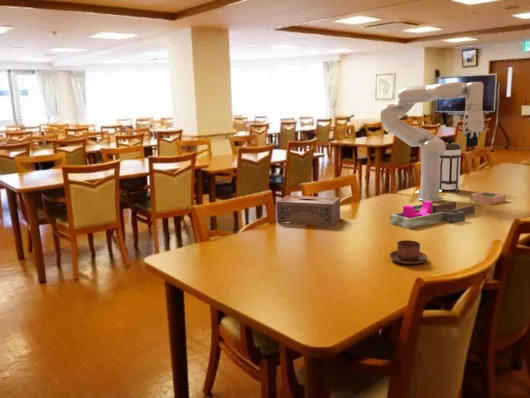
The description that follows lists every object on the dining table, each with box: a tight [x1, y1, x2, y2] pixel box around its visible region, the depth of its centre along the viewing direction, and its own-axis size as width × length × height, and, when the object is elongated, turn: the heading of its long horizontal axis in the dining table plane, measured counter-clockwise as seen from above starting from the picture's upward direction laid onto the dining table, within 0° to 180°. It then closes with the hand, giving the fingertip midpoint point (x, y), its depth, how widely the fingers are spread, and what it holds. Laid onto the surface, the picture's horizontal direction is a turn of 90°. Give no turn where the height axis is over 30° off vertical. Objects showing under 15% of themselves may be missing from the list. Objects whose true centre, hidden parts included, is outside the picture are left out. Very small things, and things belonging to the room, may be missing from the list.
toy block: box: [402, 201, 434, 218], centre depth 211 cm, size 15×6×8 cm, turn 123°
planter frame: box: [469, 190, 506, 205], centre depth 244 cm, size 12×12×4 cm
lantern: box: [439, 138, 463, 193], centre depth 271 cm, size 17×16×30 cm
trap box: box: [389, 201, 476, 230], centre depth 214 cm, size 21×42×4 cm, turn 120°
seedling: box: [483, 192, 494, 197], centre depth 240 cm, size 6×7×6 cm
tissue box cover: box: [276, 194, 341, 227], centre depth 218 cm, size 26×14×10 cm, turn 68°
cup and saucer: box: [389, 239, 428, 265], centre depth 161 cm, size 12×12×6 cm
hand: (471, 145), depth 235 cm, fingers open, 3 cm apart
